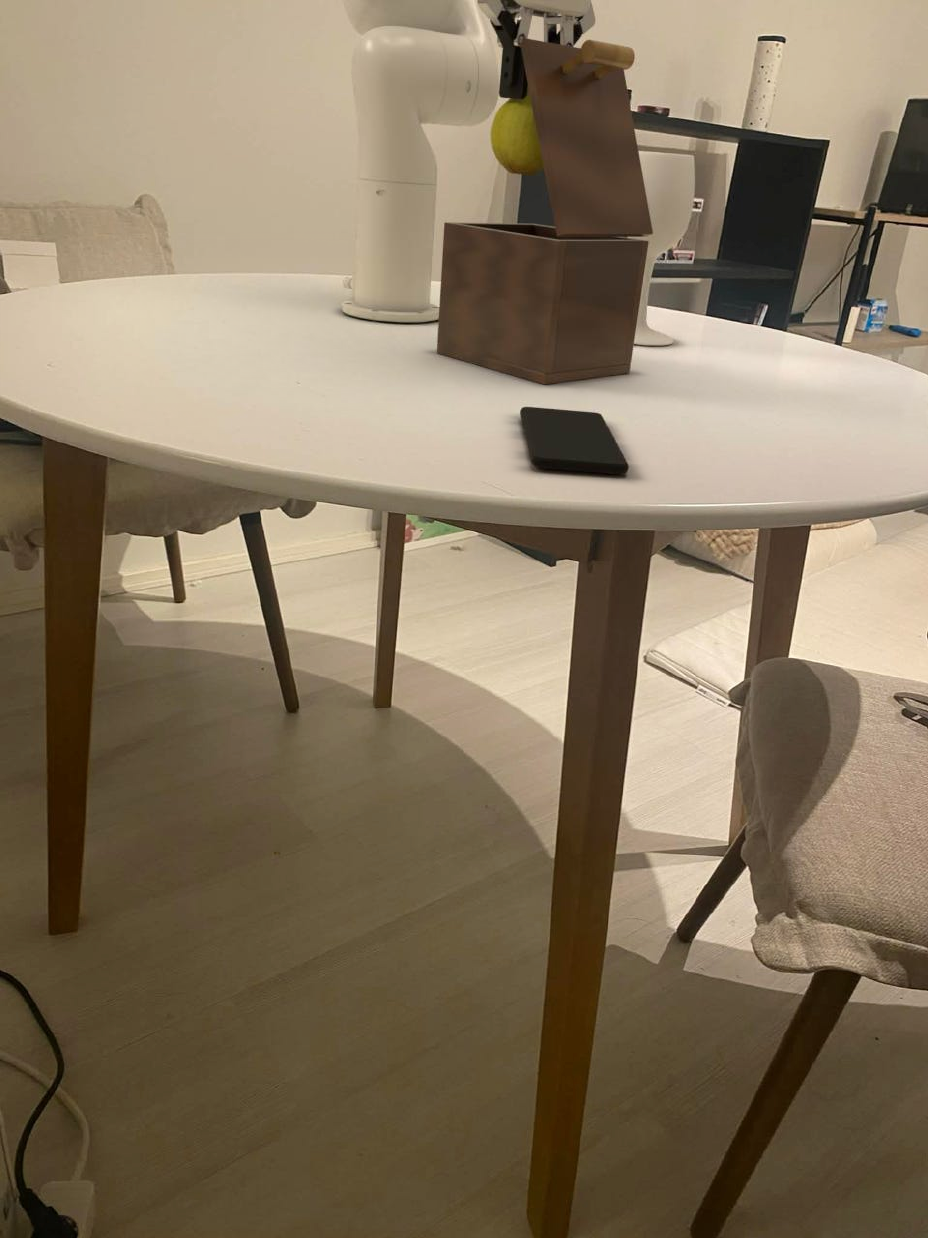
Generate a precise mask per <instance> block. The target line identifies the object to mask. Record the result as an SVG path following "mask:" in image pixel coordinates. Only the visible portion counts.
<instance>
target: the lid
mask: <svg viewBox="0 0 928 1238" xmlns="http://www.w3.org/2000/svg"><path fill="white" fill-rule="evenodd" d="M520 45H521V51H522V56H523V61H524V66H525V72H526V77H527V82H528V87H529V92H530V98H531V103H532V108H533V113H534V118H535V124H536V129H537V134H538V139H539V145H540V150H541V155H542V160H543V165H544V168H543V170H544V175H545V181H546V187H547V191H548V197H549V202H550V207H551V211H552V218H553V222H554V227H555V228H556V233H557V236H558V237H626V238H627V237H647V236H649V235H652V234H653V230H652V225H651V219H650V213H649V208H648V202H647V197H646V191H645V186H644V180H643V174H642V169H641V163H640V158H639V152H638V151H639V148H638V141H637V135H636V130H635V125H634V119H633V114H632V108H631V102H630V96H629V91H628V87H627V80H626V75H625V71H626V70H629V69H630V68H632V66H633V64H634V62H635V59H636V57H635V56H636V53H635V51H634V49H633V48H632V47H629V46H626V45H625V46H624V45H620V44H614V43H609V42H606V41H605V42H604V41H599V40H593V39H586V40H585V41H584V42H583V43H582V44H581V47H577V46H573V47H571V46H565V45H560V44H554V43H549V42H544V40H537V39H533V38H527V39H525V40H524V41H522V42H521V43H520Z"/></svg>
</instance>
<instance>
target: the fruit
mask: <svg viewBox="0 0 928 1238" xmlns="http://www.w3.org/2000/svg"><path fill="white" fill-rule="evenodd" d="M490 142H491V149H492V152H493V154H494V156H495V159H496V160H497V161H498V163H499V164H500V165H501V166H502V167H503V168H504V170H506V171H507V172H508V173H509V174H512V175H514V174H515V175H524V176H533V175H535V174H537V173H538V172H540V171H541V170H544V165H543V160H542V155H541V150H540V145H539V139H538V134H537V129H536V124H535V118H534V113H533V108H532V103H531V98H530V92H529V87H527V95H526V97H525V98H524V99H514V98H508V99H507V100H506V101H505V102H504V103H503V104H502V105H501V106H500V107H499V108H498V110H497V111H496V113H495V115H494V117H493V119H492V123H491V128H490Z"/></svg>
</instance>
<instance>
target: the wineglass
mask: <svg viewBox="0 0 928 1238" xmlns="http://www.w3.org/2000/svg"><path fill="white" fill-rule="evenodd" d="M638 152H639V158H640V163H641V169H642V174H643V180H644V186H645V191H646V197H647V202H648V208H649V213H650V219H651V225H652V230H653V234H652V235H649V236H647V237H626V238H633V239H640V240H646V241H649V243H648V250H647V257H646V264H645V270H644V277H643V284H642V291H641V298H640V305H639V312H638V318H637V325H636V332H635V339H634V345H637V346H649V347H650V346H652V347H655V346H656V347H657V346H658V347H659V346H668V345H673V343H674V340H673V338H671V337H670V336H669V335H667V334H665V333H663V332H661V331H658V330H655V329H652V328H650V326H649V325H648V321H647V319H648V317H647V316H648V315H647V313H648V303H649V294H650V286H651V282H652V281H651V280H652V276H653V275H652V274H653V271H654V267H655V264H656V261H657V259H658V257H659V256H661V255H662V254H664V253H665V252H667V251H668V250H670V249H672V248H673V247H674V246H675V245H677V244H678V243H679V242H680V241H681V240H682V238H683V237H684V236H685V234H686V233H687V230H688V228H689V225H690V222H691V218H692V214H693V208H694V204H695V203H694V201H695V193H696V192H695V191H696V165H695V156H694V155H692V154H683V153H682V154H681V153H669V152H668V153H667V152H657V151H645V150H638Z"/></svg>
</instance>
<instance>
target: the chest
mask: <svg viewBox="0 0 928 1238" xmlns="http://www.w3.org/2000/svg"><path fill="white" fill-rule="evenodd" d="M442 238H443V239H442V255H441V271H440V272H441V273H440V286H439V287H440V289H439V303H438V304H439V305H438V307H439V319H438V322H437V341H436V353H437V354H439V355H443V356H446V357H450V358H453V359H456V360H460V361H463V362H466V363H470V364H474V365H476V366H479V367H483V368H487V369H490V370H493V371H496V372H500V373H503V374H507V375H511V376H514V377H517V378H521V379H524V380H526V381H527V380H528V381H530V382H535V383H537V384H541V385H550V384H551V385H552V384H558V383H565V382H573V381H574V382H575V381H580V380H588V379H594V378H595V379H596V378H603V377H610V376H617V375H618V376H619V375H625V374H630V372H631V364H632V358H633V352H634V346H635V344H634V339H635V332H636V325H637V318H638V312H639V305H640V298H641V291H642V284H643V277H644V270H645V264H646V257H647V250H648V243H649V241H646V240H640V239H633V238H627V237H558V236H557V233H556V228H555V226H553V225H546V224H540V223H539V224H538V223H521V222H519V223H517V222H516V223H513V222H511V223H510V222H509V223H507V222H447V221H446V222H444V224H443V237H442Z"/></svg>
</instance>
